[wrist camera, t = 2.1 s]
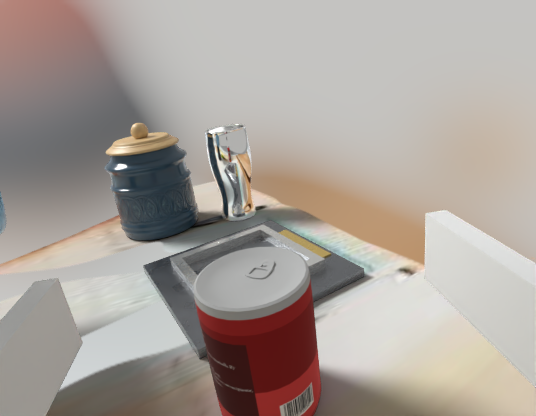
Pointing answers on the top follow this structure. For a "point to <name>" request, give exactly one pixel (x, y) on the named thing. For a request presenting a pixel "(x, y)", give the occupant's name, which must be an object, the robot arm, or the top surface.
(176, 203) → the canister
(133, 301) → the top surface
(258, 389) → the canned food
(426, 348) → the top surface
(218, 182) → the beer glass
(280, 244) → the plate
